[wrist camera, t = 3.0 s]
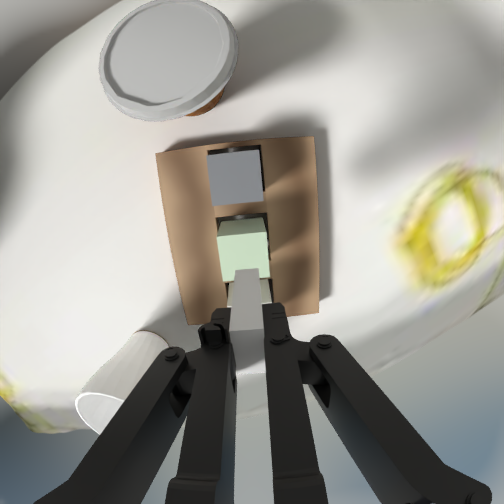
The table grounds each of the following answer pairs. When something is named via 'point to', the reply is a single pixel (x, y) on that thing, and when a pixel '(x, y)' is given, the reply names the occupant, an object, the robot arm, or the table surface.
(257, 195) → the gray button
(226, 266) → the pale green block
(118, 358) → the cup
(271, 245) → the button board
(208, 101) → the disposable coffee cup
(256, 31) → the table surface
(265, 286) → the white block
